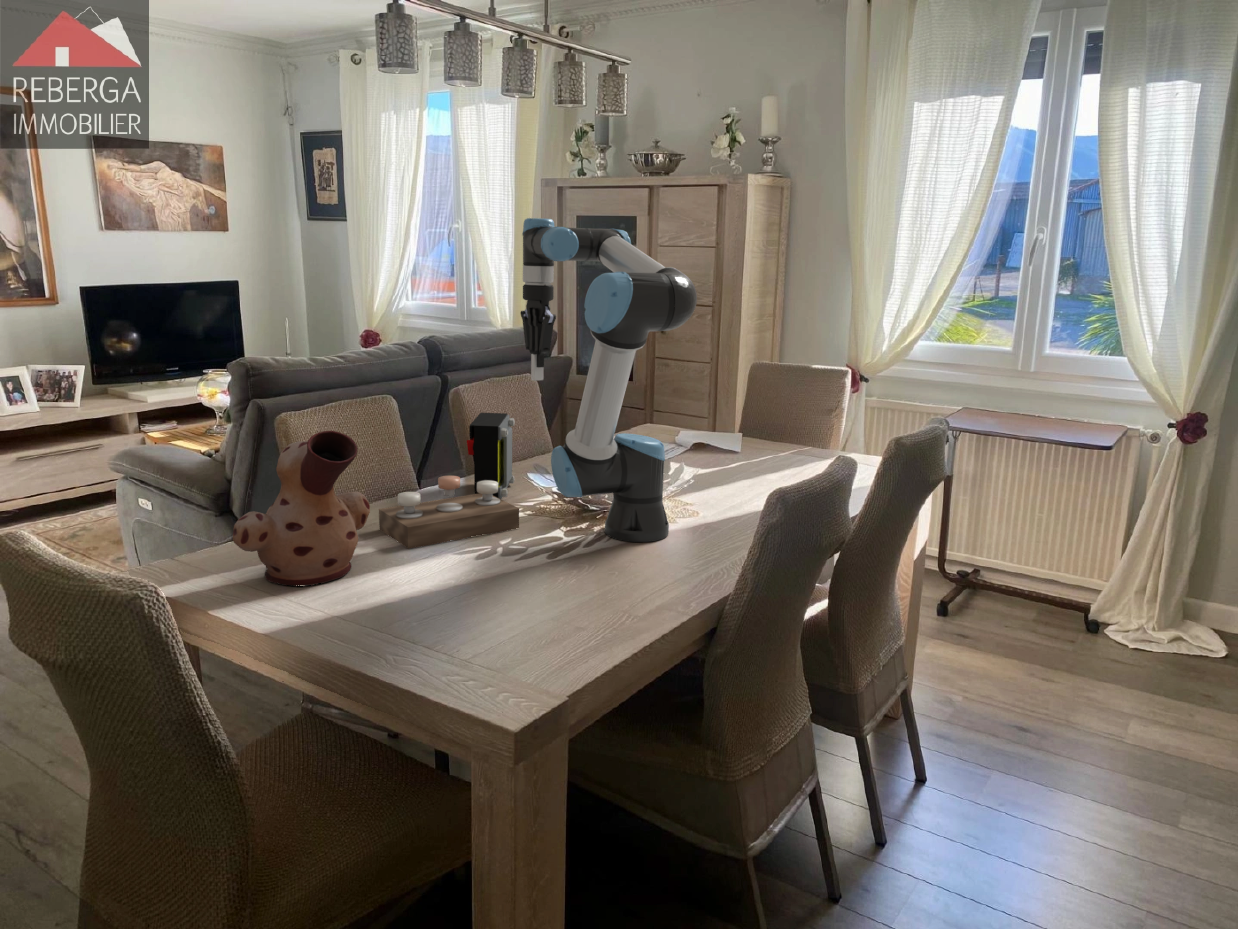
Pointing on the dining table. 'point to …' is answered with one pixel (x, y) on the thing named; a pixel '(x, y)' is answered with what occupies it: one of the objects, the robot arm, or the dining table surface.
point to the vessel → (307, 515)
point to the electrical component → (492, 450)
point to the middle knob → (449, 484)
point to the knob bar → (448, 520)
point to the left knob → (409, 501)
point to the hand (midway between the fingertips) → (537, 379)
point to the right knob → (487, 489)
